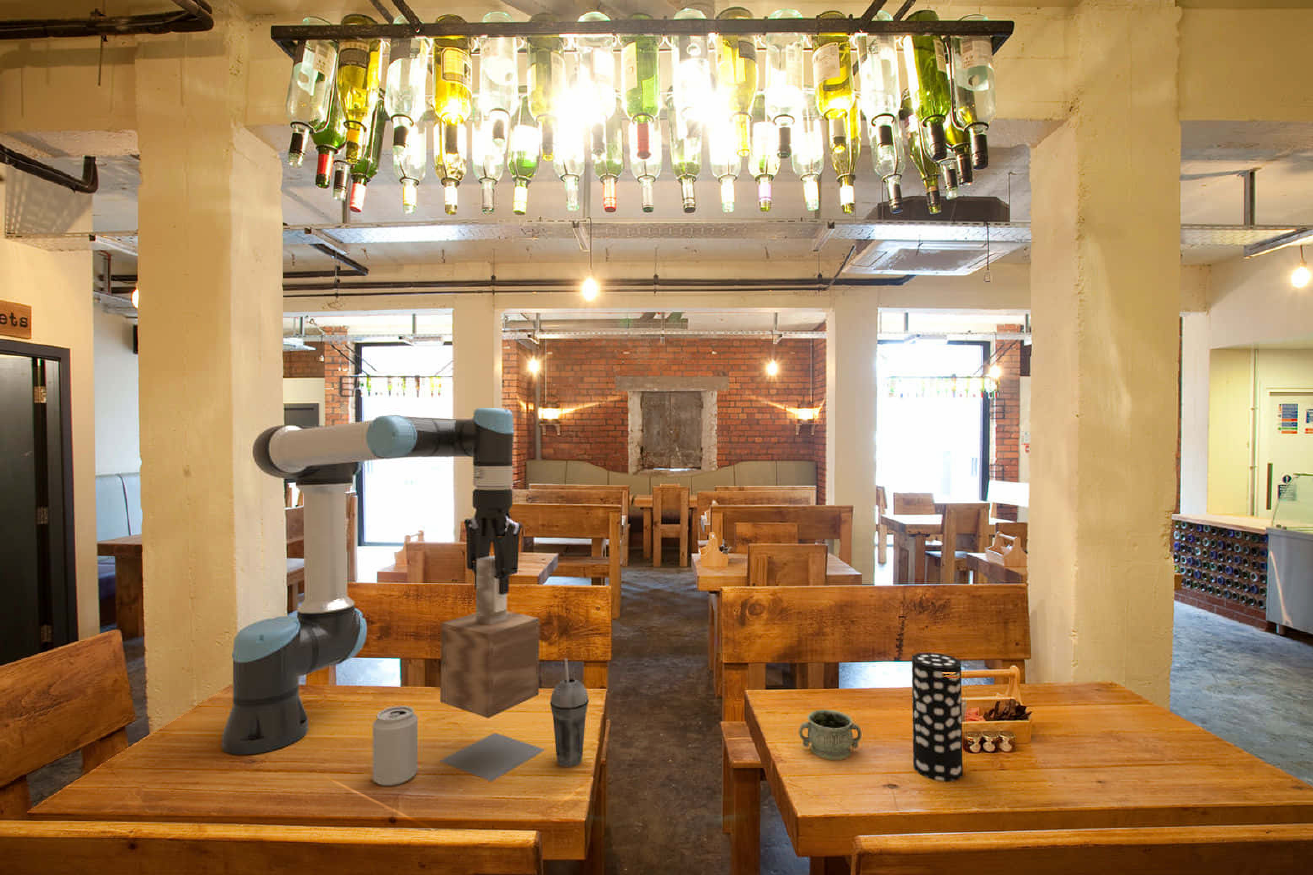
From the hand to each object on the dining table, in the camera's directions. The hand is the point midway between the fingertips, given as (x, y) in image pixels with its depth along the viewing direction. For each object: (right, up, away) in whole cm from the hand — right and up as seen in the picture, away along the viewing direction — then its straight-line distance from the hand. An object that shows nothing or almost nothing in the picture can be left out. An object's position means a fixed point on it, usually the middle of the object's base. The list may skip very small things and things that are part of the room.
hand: (491, 608), depth 123 cm
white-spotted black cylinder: (+84, -28, -6) cm, 88 cm away
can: (-15, -29, -9) cm, 33 cm away
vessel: (+66, -28, +1) cm, 72 cm away
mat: (+1, -28, -1) cm, 28 cm away
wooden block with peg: (0, -17, 0) cm, 17 cm away
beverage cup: (+16, -28, -3) cm, 33 cm away
